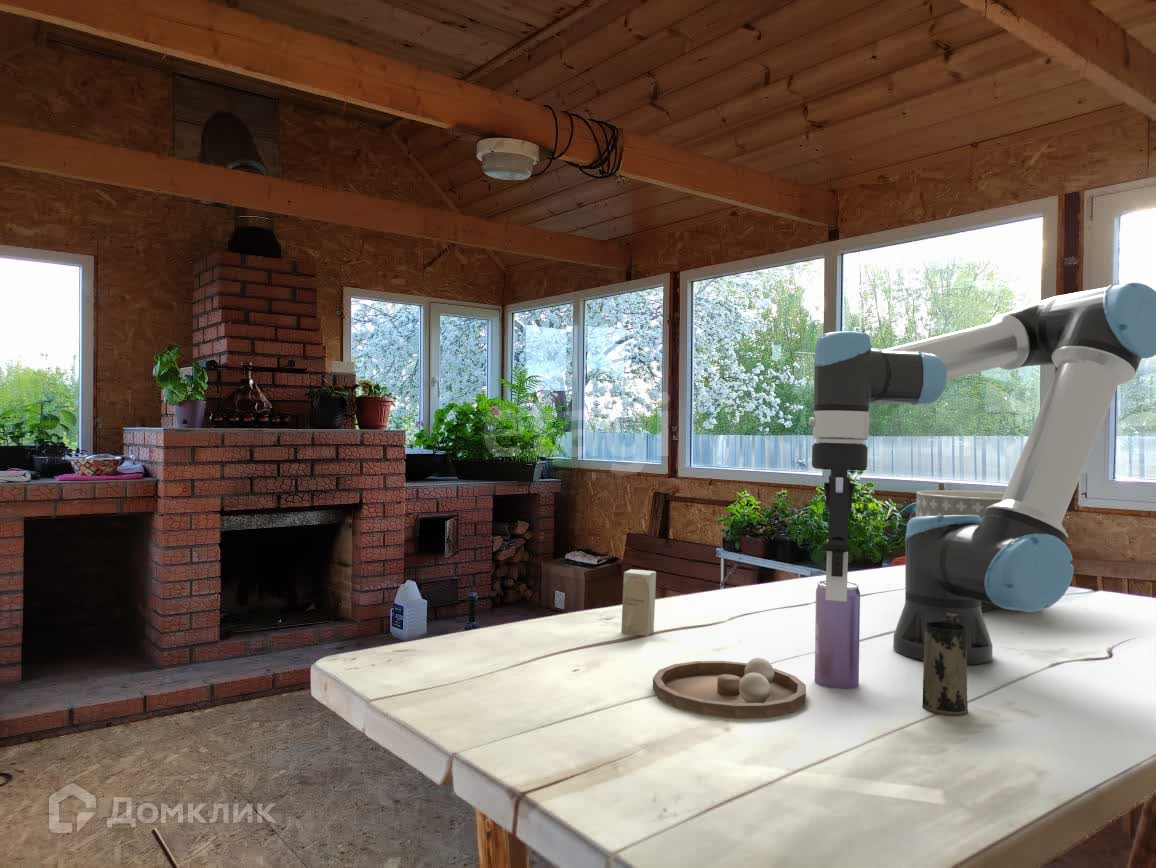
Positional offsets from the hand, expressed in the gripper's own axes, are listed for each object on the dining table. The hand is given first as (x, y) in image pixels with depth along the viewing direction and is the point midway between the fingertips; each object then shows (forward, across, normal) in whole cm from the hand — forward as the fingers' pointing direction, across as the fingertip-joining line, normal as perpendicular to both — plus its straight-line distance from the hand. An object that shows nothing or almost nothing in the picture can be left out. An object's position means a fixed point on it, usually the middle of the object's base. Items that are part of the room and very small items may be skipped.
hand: (835, 591), depth 116 cm
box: (+14, -23, -34) cm, 43 cm away
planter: (+13, -77, +30) cm, 84 cm away
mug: (+14, +3, +14) cm, 20 cm away
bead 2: (+13, +14, -10) cm, 21 cm away
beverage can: (+14, 0, 0) cm, 14 cm away
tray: (+14, +10, -14) cm, 22 cm away
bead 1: (+13, +6, -10) cm, 17 cm away
